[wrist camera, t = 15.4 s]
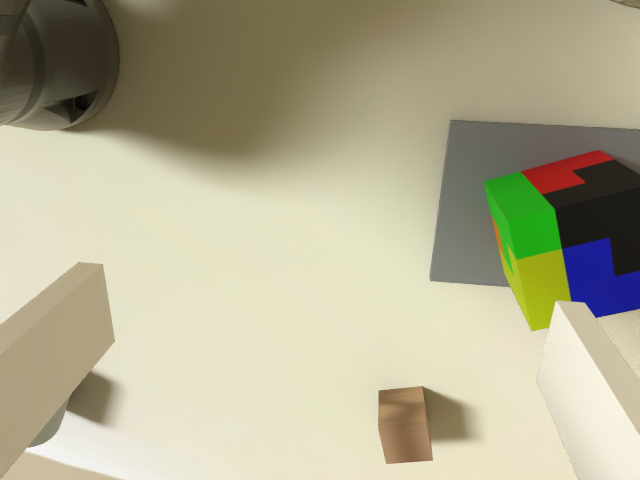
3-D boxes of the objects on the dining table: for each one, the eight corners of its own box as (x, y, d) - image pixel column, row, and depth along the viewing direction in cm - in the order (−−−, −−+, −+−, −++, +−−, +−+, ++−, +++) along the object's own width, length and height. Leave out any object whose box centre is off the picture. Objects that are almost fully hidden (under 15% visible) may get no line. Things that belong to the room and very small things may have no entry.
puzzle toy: (612, 249, 48) (666, 303, 39) (504, 274, 50) (531, 331, 41) (598, 149, 45) (654, 183, 36) (483, 181, 47) (507, 220, 38)
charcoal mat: (429, 277, 52) (430, 280, 52) (450, 120, 46) (451, 121, 45) (633, 293, 51) (637, 297, 50) (684, 131, 44) (690, 133, 43)
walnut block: (385, 423, 61) (386, 463, 55) (378, 390, 59) (378, 428, 53) (428, 420, 60) (432, 460, 54) (422, 386, 58) (426, 424, 52)
